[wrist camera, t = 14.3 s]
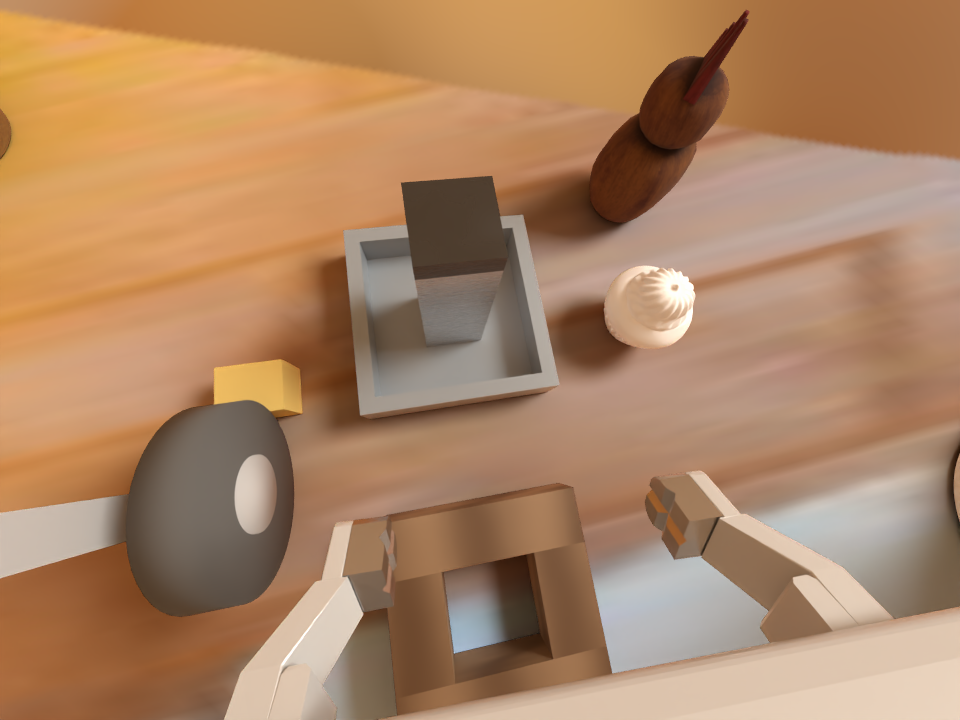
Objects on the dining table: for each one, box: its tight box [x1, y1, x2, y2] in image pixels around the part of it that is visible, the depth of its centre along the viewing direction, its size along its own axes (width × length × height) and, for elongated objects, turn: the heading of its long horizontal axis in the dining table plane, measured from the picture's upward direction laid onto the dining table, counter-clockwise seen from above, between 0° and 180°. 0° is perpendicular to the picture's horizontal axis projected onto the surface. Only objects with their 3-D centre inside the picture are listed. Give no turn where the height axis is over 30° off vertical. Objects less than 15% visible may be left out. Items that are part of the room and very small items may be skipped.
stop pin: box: [401, 176, 508, 347], centre depth 21 cm, size 4×4×12 cm
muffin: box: [604, 266, 695, 349], centre depth 26 cm, size 6×6×7 cm
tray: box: [343, 215, 560, 419], centre depth 26 cm, size 13×13×3 cm
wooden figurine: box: [590, 10, 749, 223], centre depth 25 cm, size 7×6×15 cm
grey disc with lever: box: [0, 359, 303, 617], centre depth 17 cm, size 7×13×15 cm, turn 9°
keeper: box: [387, 483, 612, 715], centre depth 22 cm, size 12×12×3 cm
